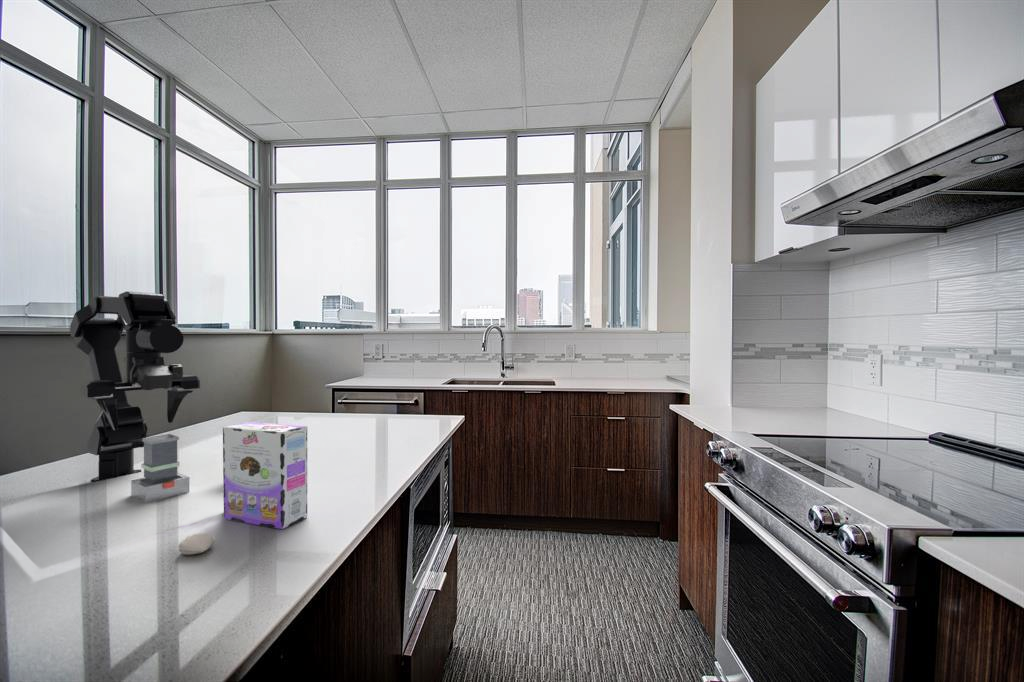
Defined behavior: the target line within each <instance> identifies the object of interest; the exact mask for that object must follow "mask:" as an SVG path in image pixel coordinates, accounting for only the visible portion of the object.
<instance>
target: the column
mask: <svg viewBox="0 0 1024 682" xmlns="http://www.w3.org/2000/svg"><path fill="white" fill-rule="evenodd" d="M179 439H180V437H179V436H178V435H174V434H170V433H168V434H160V435H156V436H155V435H154V436H148V437H147V436H146V438H142V441H143V442H144V447H143V463H141V466H140V467H141V469H143V478H147V479H149V480H152V481H153V480H158V479H162V478H167V477H171V476H176V475H177V472H178V467H180V465H181V463H180V461H178V441H179Z"/></svg>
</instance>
